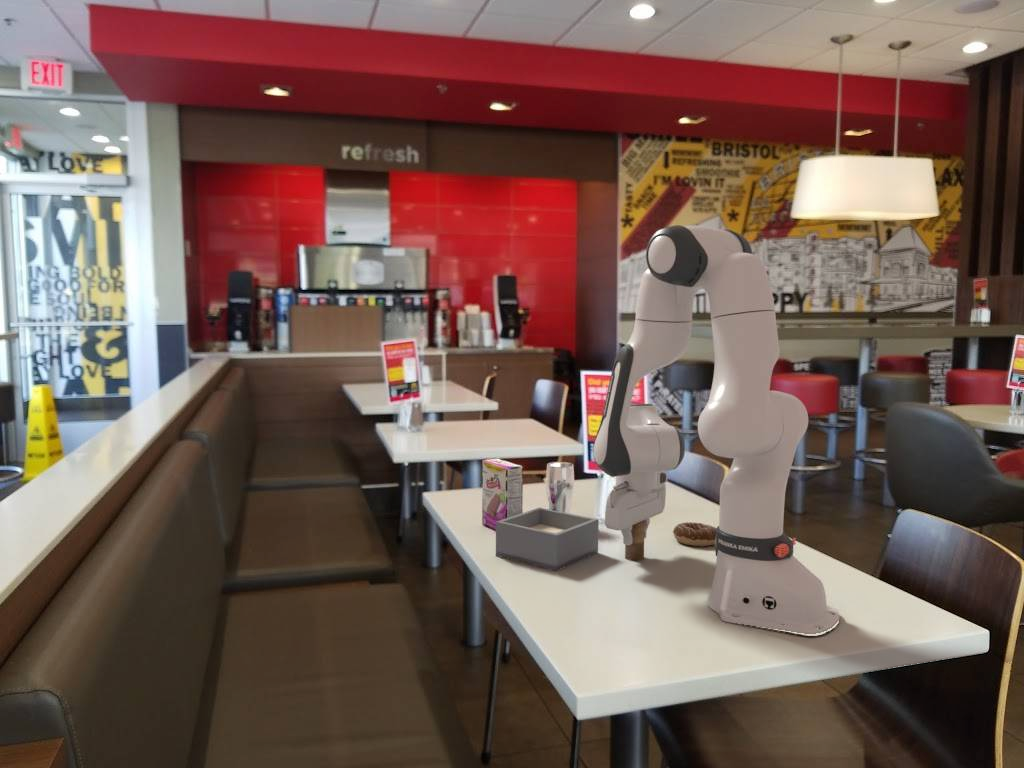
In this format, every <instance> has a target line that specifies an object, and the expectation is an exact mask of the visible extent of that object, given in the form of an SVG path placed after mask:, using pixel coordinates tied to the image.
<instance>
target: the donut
mask: <svg viewBox="0 0 1024 768" xmlns="http://www.w3.org/2000/svg"><path fill="white" fill-rule="evenodd" d="M716 530H717V527H716V526H712V525H709V524H704V523H702V522H687V521H686V522H682V523H678V524H676V525H675V527H674V529H673V531H672V534H673V537H674V538H675V540H676V541H678V542H679V543H681V544H683V545H687V546H690V545H691V547H710V545H711V546H715V539H716Z"/></svg>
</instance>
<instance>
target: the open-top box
mask: <svg viewBox="0 0 1024 768" xmlns="http://www.w3.org/2000/svg"><path fill="white" fill-rule="evenodd" d="M599 522H600V519H598V518H594V517H590V516H589V517H588V516H584V515H583V516H582V515H579V514H573V513H570V514H569V513H564V512H559V511H554V510H549V508H543V507H537V508H534V509H531V510H528V511H525V512H522V513H521V514H518V515H515V516H512V517H509V518H506V519H503V520H500V521H497V522H496V530H495V557H500V558H503V559H507V558H508V560H512V561H515V562H519V563H523V562H524V564H527V565H530V564H531V565H532V566H534V565H536V566H535V567H538V566H539V568H542V567H543V568H542V569H546V568H547V569H546V570H550V569H551V571H555V572H557V570H558V571H560V570H562V569H565V568H566V567H569V566H572V565H573V564H576V563H578V562H580V561H583V560H585V559H587V558H589V557H591V556H593V555H596V554H598V553H599V527H600V526H599ZM564 567H565V568H564Z"/></svg>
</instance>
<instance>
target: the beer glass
mask: <svg viewBox="0 0 1024 768" xmlns="http://www.w3.org/2000/svg"><path fill="white" fill-rule="evenodd" d="M545 472H546V475H545V486H546V495H547V496H546V497H547V502H548V509H549V510H554V511H559V512H564V513H569V514H571V505H572V500H573V494H574V487H575V471H574V464H573V463H571V462H566V461H552V462H548V463H547V464H546V471H545Z"/></svg>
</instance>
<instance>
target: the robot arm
mask: <svg viewBox="0 0 1024 768" xmlns="http://www.w3.org/2000/svg"><path fill="white" fill-rule="evenodd" d="M645 252H646V253H645V259H646V266H647V269H646V270H645V271H643V274H642V276H641V280H640V283H639V284H640V285H639V289H638V294H637V299H636V308H635V320H634V327H633V330H632V333H631V335H630V336H629V337H630V338H629V340H628V341H627V342H626V343H625V345H624V346H622V347H620V348H619V349H618V351H617V353H616V356H615V359H614V363H613V367H612V369H611V370H612V371H611V374H610V380H609V384H608V387H607V392H606V393H607V394H606V398H605V402H604V406H603V407H604V408H603V411H602V415H601V421H600V424H599V427H598V429H597V433H596V435H595V437H594V442H593V449H592V450H593V451H592V452H593V453H592V454H593V460H594V463H595V465H597V467H598V468H599V469H600V470H601V471H602V472H603V473H605V475H608V476H609V477H612V478H615V485H613V488H612V489H611V491H610V493H609V494H608V496H607V497H606V503H605V510H604V511H605V512H604V525H605V527H606V528H607V529H608V530H613V531H621V534H622V537H623V542H622V544H624V545H632V544H633V543H634V536H632V533H631V530H632V525H634V524H637V523H639V522H641V521H644V522H645V531H644V540H645V539H646V538H647V531H648V528H649V526H650V523H651V522H650V521H651V520H650V519H652V518H653V517H655V516H658V515H660V514H662V513H663V512H664V511H665V507H666V496H667V495H666V494H667V487H666V483H667V482H668V473H667V472H669V471H674V470H676V469H677V468H678V467H679V466H680V465H681V463H682V462H683V460H684V457H685V451H686V445H685V444H686V442H685V437H684V435H683V434H682V433H681V432H680V430H679V429H677V428H676V427H675V426H674V425H670V424H668V423H667V422H666V421H665V420H663V419H662V417H660V415H659V411H658V408H657V407H656V405H654V404H651V403H636V404H635V403H634V404H633V403H632V399H633V395H634V391H635V388H636V386H637V384H638V383H639V382H640V381H641V380H642V379H643V378H644V377H646V376H648V375H649V374H651V373H653V372H654V371H657V370H659V369H662V368H664V367H667V366H669V365H671V364H672V363H674V362H676V361H678V360H679V359H680V358H681V357H682V356H683V355H684V354H685V353H686V351H687V350H688V348H689V345H690V342H691V337H692V331H693V330H692V328H693V325H692V324H693V305H694V299H695V297H696V295H697V293H699V291H700V290H702V289H704V291H705V292H706V295H707V297H708V301H709V311H710V322H711V331H712V332H711V333H712V341H713V353H714V356H713V357H714V367H713V368H714V369H713V378H712V384H711V389H710V394H709V397H708V401H707V402H706V405H705V406H704V408H703V410H702V411H701V412H700V414H699V417H698V421H697V432H698V437H699V440H700V442H701V444H702V445H703V447H704V448H705V449H706V450H707V451H708V452H709V453H711V454H712V455H715V456H716V457H721V458H727V459H733V460H732V463H731V465H730V469H729V471H728V473H727V474H726V476H725V477H724V479H723V480H722V482H721V484H720V488H719V489H720V491H719V515H718V516H719V518H718V526H716V528H717V530H716V539H715V544H714V547H715V556H716V562H715V569H714V575H713V579H712V585H711V588H710V591H709V594H708V597H707V599H706V604H707V605H708V607H709V609H712V611H714V612H716V613H717V614H718V615H719V617H720V619H721V620H722V621H724V622H727V623H733V624H736V623H737V625H742V624H744V625H743V626H747V625H750V626H749V627H752V626H756V627H755V628H758V626H759V627H765V628H771V629H778V630H785V631H791V632H797V633H804V634H816V633H821V632H824V631H827V630H828V629H830V628H832V627H833V626H834V625H835V624H836V623H837V622H838V620H839V618H840V613H839V611H838V610H837V608H836V607H832V606H829V605H827V596H826V590H825V586H824V584H823V582H822V581H821V579H820V578H819V577H818V576H816V574H814V573H813V572H812V571H810V569H809V568H807V567H806V566H805V565H804V564H803V563H802V562H801V561H799V559H797V558H796V557H795V556H794V546H795V545H796V544H797V543H796V540H797V537H794V538H792V539H791V538H790V537H789V536H788V535H787V534H786V533H785V532H784V516H785V515H784V514H785V502H786V501H785V499H786V490H787V485H788V479H789V477H790V472H791V470H792V465H793V461H794V458H795V454H796V451H797V449H798V448H797V447H798V446H799V444H800V441H801V440H802V438H803V437H804V435H805V434H806V431H807V429H808V426H809V415H808V411H807V408H806V406H805V405H804V403H803V402H802V401H801V400H800V399H799V398H798V397H796V396H795V395H792V394H791V393H786V392H784V391H783V392H782V391H778V390H770V389H771V381H772V380H771V379H772V375H773V370H774V367H775V365H776V364H777V361H778V360H779V359H780V358H779V357H780V343H779V342H780V341H779V334H778V333H779V332H778V326H777V317H776V309H775V308H776V307H775V301H774V300H775V299H774V295H773V290H772V286H771V282H770V277H769V274H768V272H767V269H766V265H765V262H764V261H763V260H762V259H761V258H760V257H759V256H757V255H756V254H753V251H752V246H751V244H750V242H749V240H747V239H746V237H744V236H743V235H742V234H740V233H739V232H737V231H734V230H731V229H725V228H724V229H720V228H716V227H709V226H707V225H679V224H677V225H670V226H666V227H663V228H661V229H659V230H657V231H656V232H655V233H653V235H652V236H651V238H650V239H649V241H648V242H647V247H646V251H645ZM817 628H818V629H817Z"/></svg>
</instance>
